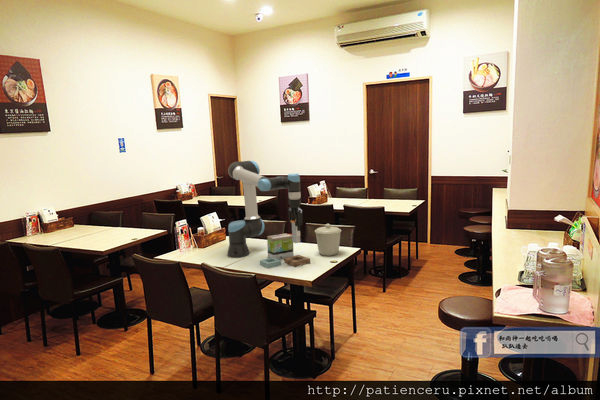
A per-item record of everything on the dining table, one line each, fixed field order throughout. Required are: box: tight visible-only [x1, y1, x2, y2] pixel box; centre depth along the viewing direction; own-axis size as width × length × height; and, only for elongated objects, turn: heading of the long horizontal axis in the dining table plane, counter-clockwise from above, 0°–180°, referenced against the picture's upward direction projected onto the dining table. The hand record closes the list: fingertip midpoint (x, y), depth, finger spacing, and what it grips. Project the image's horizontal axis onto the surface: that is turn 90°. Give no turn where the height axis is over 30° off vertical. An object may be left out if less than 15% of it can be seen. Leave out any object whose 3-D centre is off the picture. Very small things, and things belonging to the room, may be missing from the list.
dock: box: [283, 254, 311, 268], centre depth 256 cm, size 12×12×3 cm
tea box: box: [266, 233, 294, 260], centre depth 270 cm, size 15×10×15 cm
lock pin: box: [290, 218, 301, 244], centre depth 253 cm, size 5×5×14 cm
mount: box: [259, 257, 283, 269], centre depth 254 cm, size 10×10×3 cm
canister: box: [314, 223, 342, 257], centre depth 273 cm, size 18×18×21 cm
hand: (296, 235), depth 254 cm, fingers closed on lock pin, 4 cm apart
